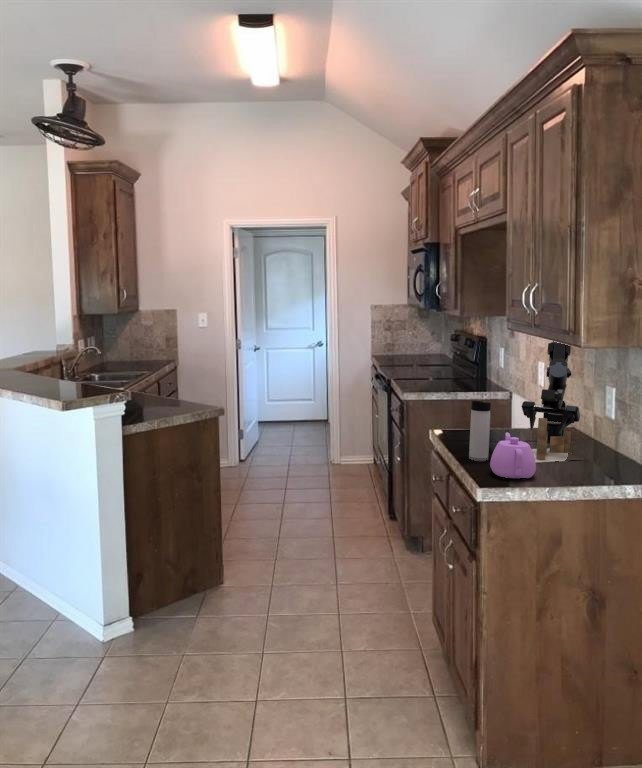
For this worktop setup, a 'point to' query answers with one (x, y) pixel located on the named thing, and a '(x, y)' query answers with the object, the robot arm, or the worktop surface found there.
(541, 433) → the gate
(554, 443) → the base
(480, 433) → the travel mug
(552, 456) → the card
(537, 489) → the worktop surface
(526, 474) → the teapot
